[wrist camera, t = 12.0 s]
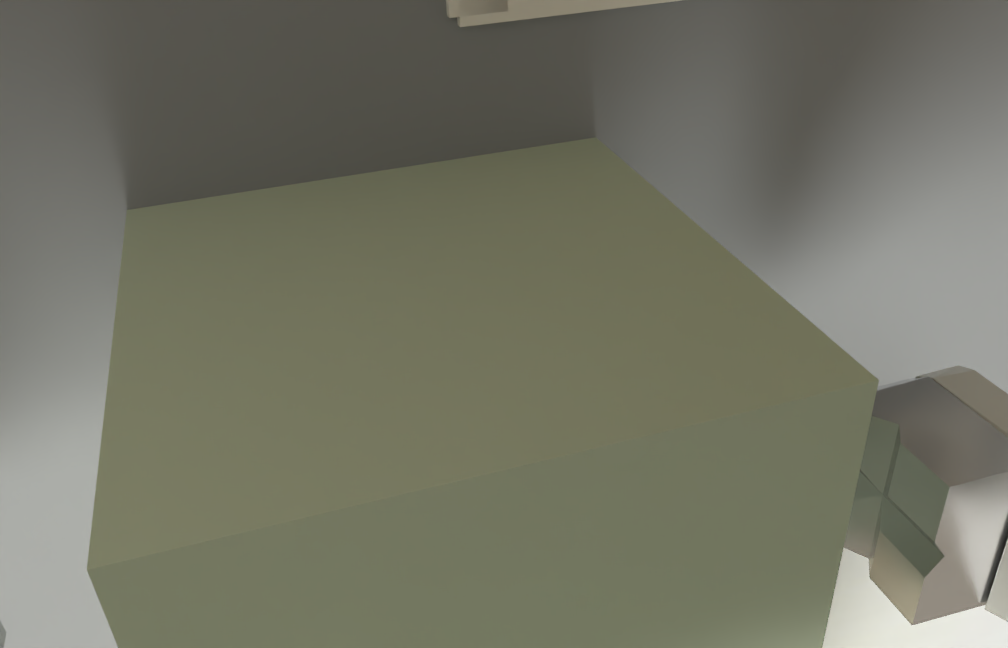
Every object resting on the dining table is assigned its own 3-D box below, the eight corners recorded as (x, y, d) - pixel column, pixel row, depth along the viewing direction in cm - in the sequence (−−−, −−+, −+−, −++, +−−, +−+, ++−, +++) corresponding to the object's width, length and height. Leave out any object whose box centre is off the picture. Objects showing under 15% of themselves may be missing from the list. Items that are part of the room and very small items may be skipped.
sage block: (125, 210, 9) (87, 570, 5) (596, 137, 10) (877, 379, 6) (228, 567, 12) (257, 994, 8) (592, 476, 13) (789, 806, 9)
